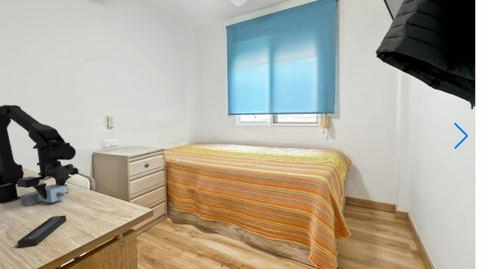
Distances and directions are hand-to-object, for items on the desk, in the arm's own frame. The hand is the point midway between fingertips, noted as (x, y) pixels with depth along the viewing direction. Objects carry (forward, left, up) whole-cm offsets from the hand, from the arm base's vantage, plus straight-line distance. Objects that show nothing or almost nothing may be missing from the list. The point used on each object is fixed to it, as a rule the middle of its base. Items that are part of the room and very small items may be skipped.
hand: (52, 196), depth 87 cm
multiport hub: (+22, -16, -3) cm, 28 cm away
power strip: (-8, +3, -3) cm, 9 cm away
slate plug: (0, 0, -1) cm, 1 cm away
